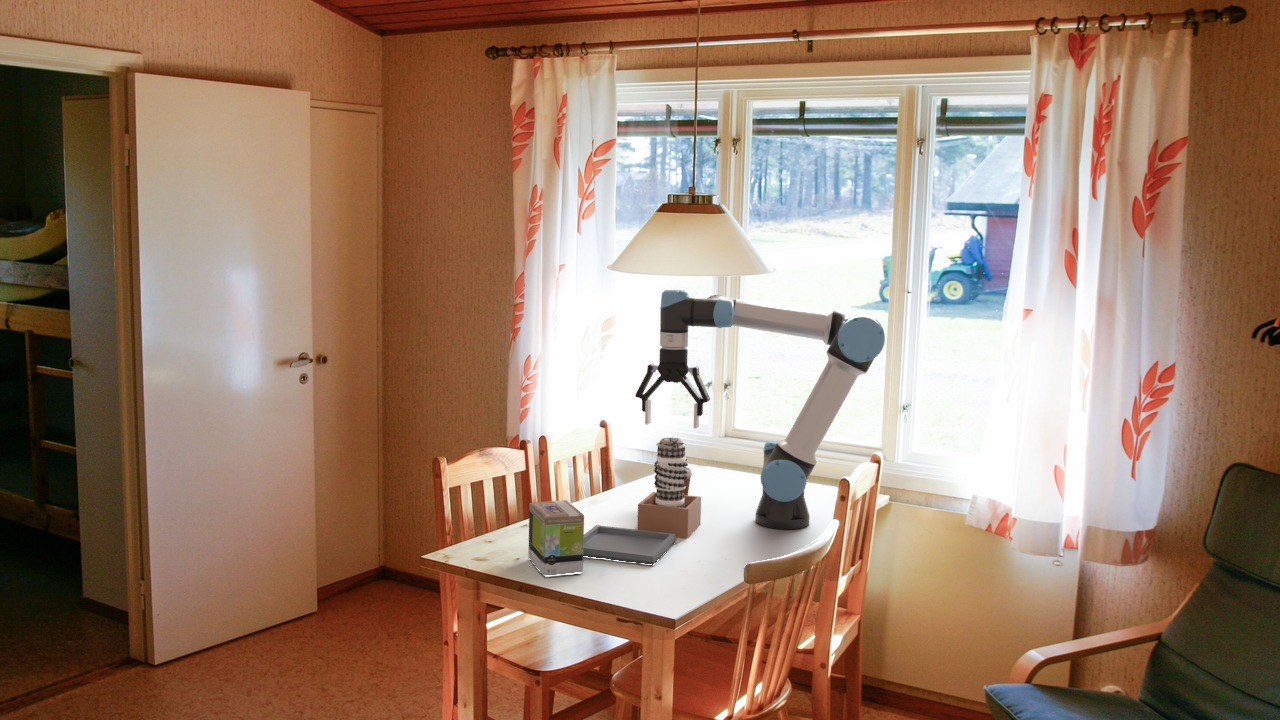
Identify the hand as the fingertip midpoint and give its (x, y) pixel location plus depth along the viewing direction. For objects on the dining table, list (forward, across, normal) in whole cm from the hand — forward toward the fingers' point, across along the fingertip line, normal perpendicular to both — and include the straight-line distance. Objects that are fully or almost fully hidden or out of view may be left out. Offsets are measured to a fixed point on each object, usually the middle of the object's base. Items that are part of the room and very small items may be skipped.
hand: (671, 425), depth 281 cm
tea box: (+29, -17, -41) cm, 53 cm away
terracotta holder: (+29, 0, 0) cm, 29 cm away
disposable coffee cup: (+29, -4, +20) cm, 35 cm away
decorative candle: (+29, 0, 0) cm, 29 cm away
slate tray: (+29, -6, -22) cm, 37 cm away
